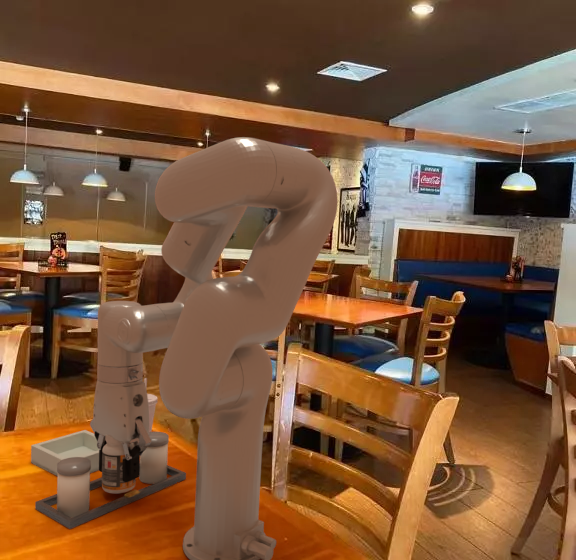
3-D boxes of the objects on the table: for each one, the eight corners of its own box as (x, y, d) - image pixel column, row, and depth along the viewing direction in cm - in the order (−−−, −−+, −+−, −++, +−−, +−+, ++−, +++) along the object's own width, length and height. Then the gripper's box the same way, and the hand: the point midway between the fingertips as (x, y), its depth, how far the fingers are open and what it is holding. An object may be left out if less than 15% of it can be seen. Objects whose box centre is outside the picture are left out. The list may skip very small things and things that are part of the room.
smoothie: (146, 448, 125) (148, 383, 123) (119, 443, 127) (121, 379, 125) (161, 438, 131) (163, 376, 129) (136, 433, 133) (138, 373, 131)
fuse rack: (186, 479, 111) (186, 472, 111) (70, 529, 91) (70, 520, 91) (151, 464, 117) (151, 457, 117) (35, 508, 97) (35, 500, 97)
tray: (121, 462, 117) (121, 445, 117) (67, 481, 107) (67, 462, 107) (84, 446, 124) (85, 429, 124) (31, 462, 114) (31, 445, 114)
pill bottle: (126, 496, 100) (127, 439, 99) (95, 492, 101) (96, 436, 100) (141, 483, 106) (142, 429, 105) (111, 479, 107) (112, 425, 106)
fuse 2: (172, 477, 111) (174, 436, 111) (151, 486, 107) (153, 443, 107) (154, 469, 114) (155, 429, 114) (132, 478, 110) (134, 436, 110)
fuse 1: (96, 509, 98) (97, 463, 97) (68, 521, 94) (69, 472, 93) (77, 499, 101) (78, 454, 100) (49, 510, 97) (50, 463, 96)
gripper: (170, 377, 100) (168, 481, 101) (107, 361, 110) (106, 456, 111) (135, 386, 94) (133, 496, 95) (71, 368, 104) (70, 468, 105)
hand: (119, 473), depth 103 cm, fingers closed on pill bottle, 5 cm apart
